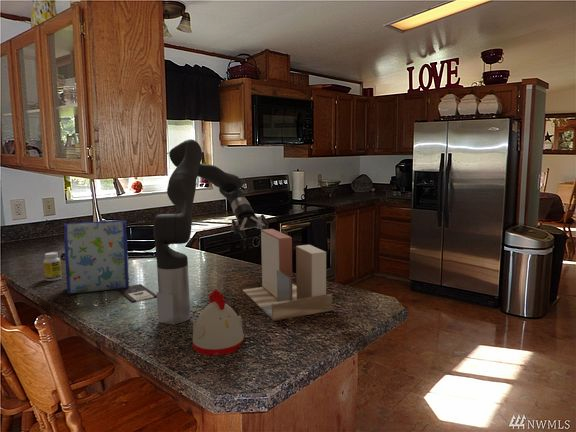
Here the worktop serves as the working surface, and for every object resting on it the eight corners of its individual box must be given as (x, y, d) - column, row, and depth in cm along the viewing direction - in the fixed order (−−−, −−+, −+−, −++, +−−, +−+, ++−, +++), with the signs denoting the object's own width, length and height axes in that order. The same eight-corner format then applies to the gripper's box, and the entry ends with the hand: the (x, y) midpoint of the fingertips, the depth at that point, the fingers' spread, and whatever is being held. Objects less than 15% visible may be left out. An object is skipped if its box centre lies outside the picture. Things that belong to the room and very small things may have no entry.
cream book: (296, 300, 147) (295, 246, 144) (309, 297, 149) (309, 244, 146) (311, 311, 136) (311, 253, 134) (326, 309, 138) (326, 251, 136)
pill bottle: (54, 281, 175) (52, 255, 174) (41, 281, 177) (38, 254, 175) (65, 277, 181) (63, 251, 180) (52, 276, 183) (50, 251, 181)
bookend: (261, 307, 140) (260, 272, 138) (279, 305, 143) (278, 270, 141) (272, 318, 131) (271, 280, 129) (291, 315, 134) (291, 278, 132)
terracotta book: (261, 287, 162) (260, 229, 159) (273, 285, 164) (272, 228, 160) (279, 302, 145) (278, 238, 142) (292, 300, 147) (291, 237, 144)
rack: (242, 292, 159) (242, 276, 158) (291, 285, 167) (291, 270, 166) (274, 323, 130) (273, 304, 129) (332, 313, 138) (332, 295, 137)
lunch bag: (130, 278, 179) (125, 216, 175) (131, 289, 164) (126, 222, 160) (71, 284, 171) (65, 220, 168) (66, 297, 156) (59, 227, 152)
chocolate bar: (140, 284, 169) (157, 295, 155) (140, 286, 169) (157, 298, 155) (117, 288, 164) (132, 301, 150) (117, 291, 164) (132, 303, 150)
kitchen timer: (206, 360, 108) (203, 303, 105) (184, 341, 119) (181, 289, 116) (253, 345, 116) (252, 292, 113) (229, 328, 127) (227, 279, 124)
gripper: (226, 206, 173) (239, 233, 162) (259, 200, 178) (273, 226, 168) (225, 219, 178) (238, 246, 167) (258, 214, 183) (271, 239, 173)
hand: (256, 236), depth 167 cm, fingers open, 8 cm apart
